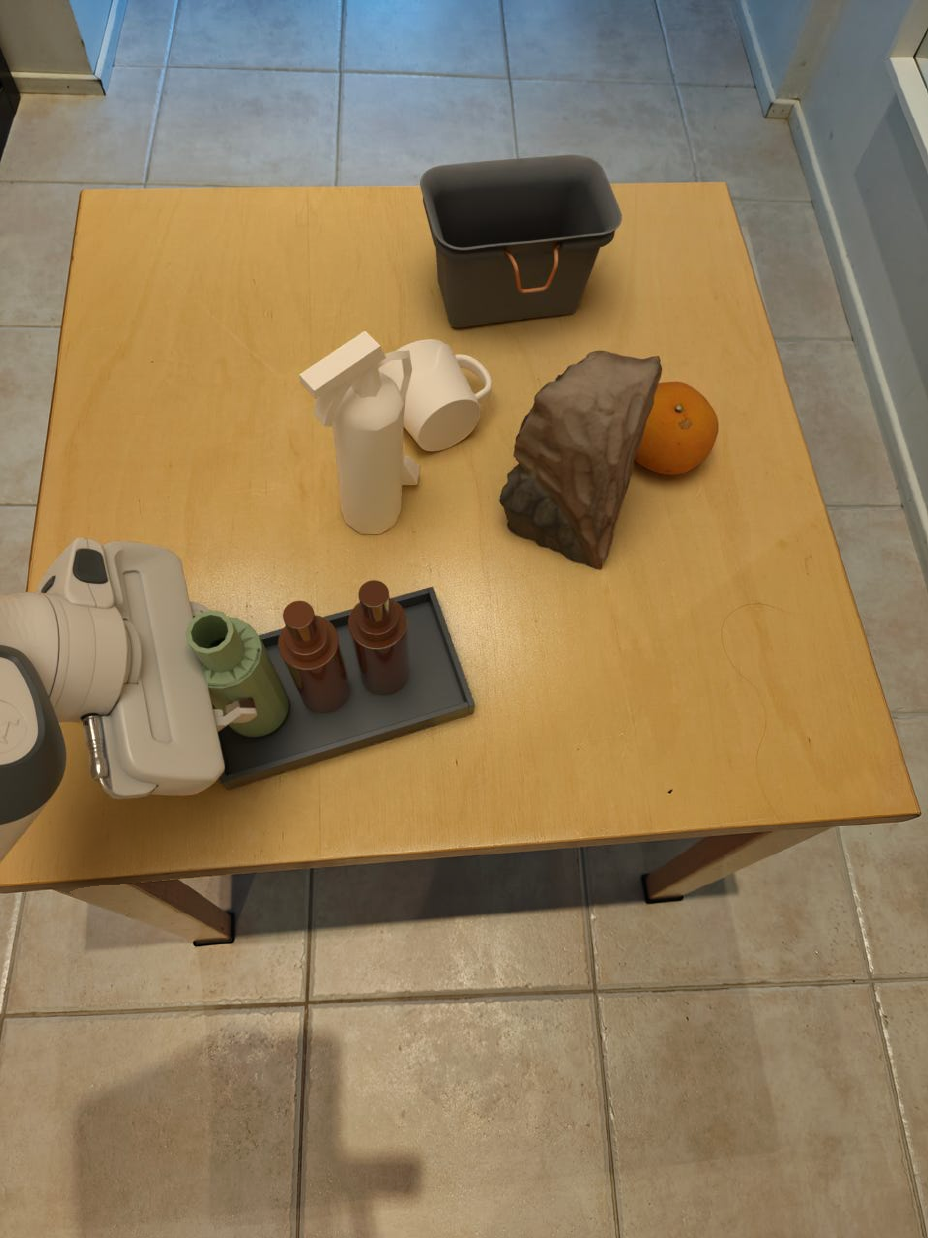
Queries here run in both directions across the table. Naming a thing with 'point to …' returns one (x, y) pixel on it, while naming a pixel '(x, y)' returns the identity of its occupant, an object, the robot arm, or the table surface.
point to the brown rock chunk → (580, 454)
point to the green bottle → (238, 670)
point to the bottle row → (319, 654)
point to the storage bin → (517, 235)
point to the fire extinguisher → (365, 430)
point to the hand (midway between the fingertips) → (242, 669)
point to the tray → (357, 701)
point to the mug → (439, 393)
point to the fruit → (677, 430)
